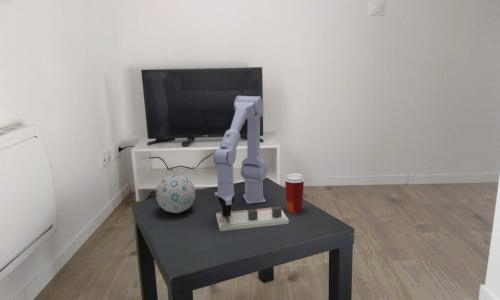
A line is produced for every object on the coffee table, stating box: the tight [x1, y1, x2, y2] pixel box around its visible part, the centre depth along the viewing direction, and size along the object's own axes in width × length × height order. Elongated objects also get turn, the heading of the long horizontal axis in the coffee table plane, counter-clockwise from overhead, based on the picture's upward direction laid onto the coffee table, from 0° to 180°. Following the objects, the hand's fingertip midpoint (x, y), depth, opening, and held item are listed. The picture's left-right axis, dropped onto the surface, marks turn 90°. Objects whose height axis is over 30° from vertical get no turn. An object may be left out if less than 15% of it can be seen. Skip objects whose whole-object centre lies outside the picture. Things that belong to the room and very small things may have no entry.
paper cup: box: [283, 172, 306, 214], centre depth 146 cm, size 8×8×14 cm
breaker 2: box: [271, 206, 283, 217], centre depth 138 cm, size 2×3×3 cm, turn 101°
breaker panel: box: [215, 207, 290, 232], centre depth 139 cm, size 12×25×2 cm, turn 101°
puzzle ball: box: [155, 173, 196, 214], centre depth 147 cm, size 15×15×15 cm
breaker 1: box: [247, 208, 258, 220], centre depth 136 cm, size 2×3×3 cm, turn 101°
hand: (226, 215), depth 138 cm, fingers closed
